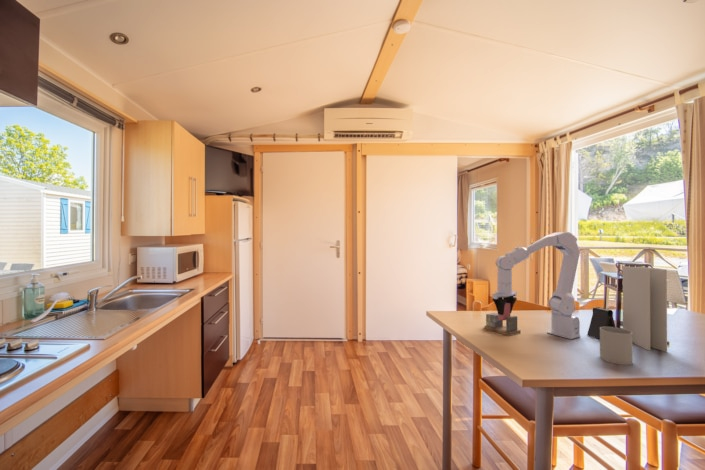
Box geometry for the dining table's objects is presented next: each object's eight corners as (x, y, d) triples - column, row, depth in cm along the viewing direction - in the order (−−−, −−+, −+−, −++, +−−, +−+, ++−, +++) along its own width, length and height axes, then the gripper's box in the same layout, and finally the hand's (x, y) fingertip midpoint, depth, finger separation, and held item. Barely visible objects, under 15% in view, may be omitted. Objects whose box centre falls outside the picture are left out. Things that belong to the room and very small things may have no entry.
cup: (599, 352, 107) (599, 325, 107) (630, 358, 102) (630, 329, 102) (600, 360, 101) (600, 330, 101) (633, 366, 96) (633, 335, 96)
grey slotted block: (520, 333, 129) (520, 316, 129) (509, 335, 125) (509, 318, 126) (495, 325, 140) (495, 310, 140) (484, 328, 136) (484, 312, 136)
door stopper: (601, 340, 121) (601, 310, 121) (587, 335, 127) (587, 307, 127) (618, 338, 123) (618, 309, 123) (603, 333, 129) (603, 306, 129)
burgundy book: (510, 319, 132) (510, 303, 132) (503, 320, 129) (503, 304, 129) (505, 317, 134) (505, 302, 134) (498, 319, 132) (498, 303, 132)
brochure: (667, 351, 109) (666, 269, 109) (649, 350, 110) (649, 269, 110) (638, 339, 122) (638, 266, 123) (622, 338, 124) (622, 266, 124)
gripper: (506, 280, 139) (506, 309, 139) (486, 282, 132) (486, 313, 132) (521, 282, 133) (521, 313, 133) (500, 285, 126) (500, 317, 125)
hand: (504, 313), depth 132 cm, fingers closed on burgundy book, 5 cm apart
